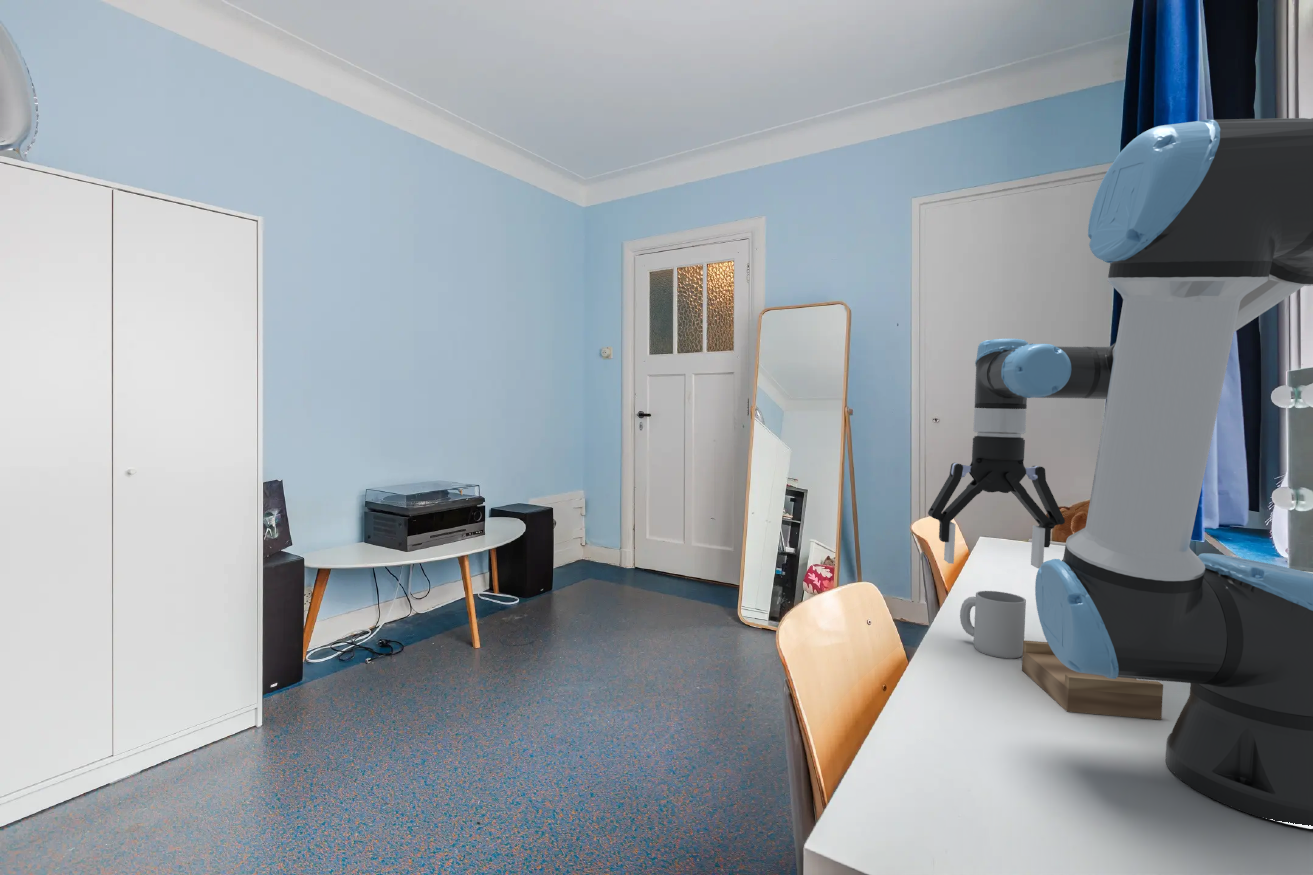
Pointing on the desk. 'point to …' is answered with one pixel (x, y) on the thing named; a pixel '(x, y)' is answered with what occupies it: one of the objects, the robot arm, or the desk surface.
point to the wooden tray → (1090, 687)
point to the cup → (996, 623)
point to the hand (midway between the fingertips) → (992, 564)
